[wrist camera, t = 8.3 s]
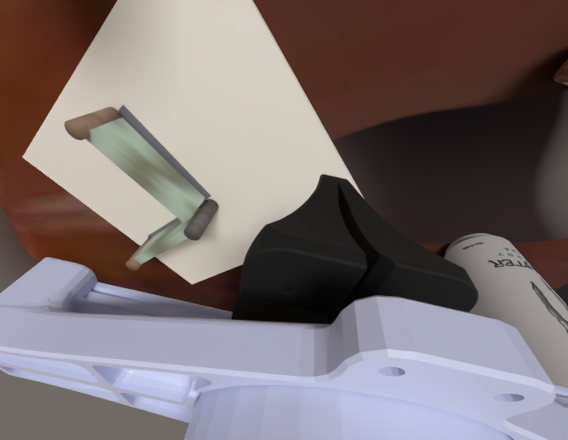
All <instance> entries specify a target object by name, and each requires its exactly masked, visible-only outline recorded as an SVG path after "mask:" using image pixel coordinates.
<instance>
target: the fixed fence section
mask: <svg viewBox="0 0 568 440" xmlns="http://www.w3.org/2000/svg"><path fill="white" fill-rule="evenodd" d="M218 208H219V205H218V203H217V202H216V201H214V200H212V199H207V200H205V202H204V203H203V204H202V206H201V207H200V208H198V209H197V210H196V211H195V213H194V214H193V216H192V217H191V218H190V219H189V220H187V221H186V222H184V223H183V222H182V221H181V220H179V221H177V222H175V223H174V224H172V225H171V226H169V227H167V228H166V229H164V230H163V231H161V232H159V233H158V234H156V235H154V236H153V237H148V239H147V240H146V241H145V242H144V243H143V244H142V245H141V247H140V248H139V249H138V250H137V251H136V252H135V253H134V255H133V256H132V257H131V258H130V259H129V260H128V261H127V263H126V266H127V267H128V268H129V269H131V270H138V268H139V267H140V266H141V265H142V263H144V262H146V261H148V260H150V259H151V258H153V257H155V256H157V255H159V254H161V253H162V252H164V251H166V250H168V249H170V248H172V247H173V246H175V245H177V244H179V243H181V242H183V241H184V240H186V239H188V238H189V239H190V240H194V241H196V240H199V239H200V238H201V236H202V235H203V233H204V231H205V230H206V228H207V226H208V225H209V223H210V222H211V220H212V218H213V217H214V215H215V213H216V212H217V210H218Z"/></svg>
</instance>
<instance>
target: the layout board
mask: <svg viewBox="0 0 568 440" xmlns="http://www.w3.org/2000/svg"><path fill="white" fill-rule="evenodd" d="M107 107H113V108H115V109H116V110H118V111H119V113H120V114H121V116H122V118H123V119H124V120H125V121H126V122H127V123H128V124H129V125H130V126H132V127H133V128H134V129H135V130H136V131H137V132H138V133H139V134H140V135H141V136H142V137H143V138H144V139H145V140H146V141H147V142H148V143H149V144H150V145H151V146H152V147H153V148H154V149H155V150H156V151H157V152H158V153H159V154H160V155H162V156H163V157H164V158H165V159H166V160H167V161H168V162H169V163H170V164H171V165H172V166H173V167H174V168H175V169H176V170H177V171H178V172H179V173H180V174H181V175H182V176H183V177H184V178H185V179H186V180H187V181H188V182H189V183H190V184H192V185H193V186H194V187H195V188H196V189H197V190H198V191H199V192H200V193H201V194H202V195H203V196H204V197H205V199H204V201H203V202H202V203H201V205H200V206H199V207H198V208H200V207H201V206H202V204H203V203H204V202H205V200H207V199H212V200H214V201H216V202H217V203H218V205H219V208H218V210H217V212H216V213H215V215H214V217H213V218H212V220H211V222H210V223H209V225H208V226H207V228H206V230H205V231H204V233H203V235H202V236H201V238H200V239H199V240H196V241H194V240H190V239H189V238H188V239H186V240H184V241H183V242H181V243H179V244H177V245H175V246H173V247H172V248H170V249H168V250H166V251H164V252H162V253H161V254H159V255H157V256H155V257H156V258H158V259H159V260H160V261H162V262H163V263H164V264H166V265H167V266H168V267H170V268H171V269H172V270H174V271H175V272H176V273H178V274H179V275H180V276H182V277H183V278H184V279H186V280H187V281H188V282H190V283H191V284H194V283H197V282H199V281H202V280H204V279H207V278H209V277H212V276H214V275H217V274H219V273H222V272H224V271H227V270H229V269H232V268H234V267H237V266H239V265H242V264H243V262H244V259H245V256H246V253H247V251H248V249H249V247H250V246H251V244H252V242H253V241H254V239H255V238H256V236H257V235H258V233H259V232H260V231H261V230H262V228H263V227H264V226H265V225H266V224H269V223H272V222H275V221H278V220H280V219H282V218H284V217H286V216H287V215H289V214H291V213H292V212H294V211H295V210H296V209H298V208H299V207H300V206H301V205H302V204H303V203H305V202H306V200H307V199H308V198H309V197H310V196H311V195H312V193H313V192H314V191H315V189H316V187H317V185H318V181H319V178H320V175H322V174H326V175H330V176H335V177H339V178H343V179H347V180H348V181H349V182H350V183H351V184H352V185H353V186H354V188H355V189H356V190H357V191H358V192H359V194H360V195H361V196H362V194H361V193H360V191H359V189H358V187H357V185H356V184H355V182H354V180H353V178H352V176H351V175H350V173H349V171H348V169H347V168H346V166H345V164H344V162H343V160H342V159H341V157H340V155H339V153H338V152H337V150H336V148H335V146H334V144H333V143H332V141H331V139H330V137H329V135H328V134H327V132H326V130H325V128H324V127H323V125H322V123H321V121H320V119H319V118H318V116H317V114H316V112H315V110H314V109H313V107H312V105H311V103H310V102H309V100H308V98H307V96H306V94H305V93H304V91H303V89H302V87H301V86H300V84H299V82H298V80H297V78H296V77H295V75H294V73H293V71H292V69H291V68H290V66H289V64H288V62H287V61H286V59H285V57H284V55H283V53H282V52H281V50H280V48H279V46H278V45H277V43H276V41H275V39H274V37H273V36H272V34H271V32H270V30H269V28H268V27H267V25H266V23H265V21H264V20H263V18H262V16H261V14H260V12H259V11H258V9H257V7H256V5H255V3H254V2H253V0H117V2H116V4H115V5H114V7H113V9H112V10H111V12H110V14H109V15H108V17H107V18H106V20H105V22H104V23H103V25H102V27H101V28H100V30H99V32H98V33H97V35H96V37H95V38H94V40H93V42H92V43H91V45H90V47H89V48H88V50H87V52H86V53H85V55H84V56H83V58H82V60H81V61H80V63H79V65H78V66H77V68H76V70H75V71H74V73H73V75H72V76H71V78H70V80H69V81H68V83H67V85H66V86H65V88H64V89H63V91H62V93H61V94H60V96H59V98H58V99H57V101H56V103H55V104H54V106H53V108H52V109H51V111H50V113H49V114H48V116H47V118H46V119H45V121H44V123H43V124H42V126H41V127H40V129H39V131H38V132H37V134H36V136H35V137H34V139H33V141H32V142H31V144H30V146H29V147H28V149H27V151H26V152H25V154H24V156H23V158H24V159H25V160H27V161H28V162H29V163H31V164H32V165H33V166H35V167H36V168H37V169H39V170H40V171H41V172H43V173H44V174H45V175H47V176H48V177H49V178H51V179H52V180H53V181H55V182H56V183H57V184H59V185H60V186H61V187H63V188H64V189H65V190H67V191H68V192H69V193H71V194H72V195H73V196H75V197H76V198H77V199H79V200H80V201H81V202H83V203H84V204H85V205H87V206H88V207H89V208H91V209H92V210H93V211H95V212H96V213H97V214H99V215H100V216H101V217H103V218H104V219H105V220H107V221H108V222H109V223H111V224H112V225H113V226H115V227H116V228H117V229H119V230H120V231H121V232H123V233H124V234H125V235H127V236H128V237H129V238H131V239H132V240H133V241H135V242H136V243H138V244H139V245H140V246H141V245H142V244H143V243H144V242H145V241H146V240H147V239H148V237H153V236H154V235H156V234H158V233H159V232H161V231H163V230H164V229H166V228H167V227H169V226H171V225H172V224H174V223H175V222H177V221H179V220H180V219H179V218H177V217H176V216H175V215H174V214H173V213H171V212H170V211H169V210H168V209H167V208H166V207H164V206H163V205H162V204H161V203H160V202H159V201H157V200H156V199H155V198H154V197H153V196H152V195H150V194H149V193H148V192H147V191H146V190H145V189H143V188H142V187H141V186H140V185H139V184H138V183H136V182H135V181H134V180H133V179H132V178H131V177H129V176H128V175H127V174H126V173H125V172H124V171H122V170H121V169H120V168H119V167H118V166H116V165H115V164H114V163H113V162H112V161H111V160H109V159H108V158H107V157H106V156H105V155H104V154H102V153H101V152H100V151H99V150H98V149H97V148H95V147H94V146H93V145H92V144H91V143H90V142H88V141H87V140H86V139H84V140H77V139H74V138H73V137H71V136H70V135H69V134H68V132H67V131H66V129H65V127H64V123H65V121H67V120H70V119H74V118H77V117H80V116H83V115H86V114H89V113H92V112H95V111H98V110H101V109H104V108H107ZM362 197H363V196H362Z"/></svg>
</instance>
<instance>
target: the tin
mask: <svg viewBox="0 0 568 440" xmlns="http://www.w3.org/2000/svg"><path fill="white" fill-rule="evenodd" d="M554 81H555V82H558V83H561V84H564V85H567V86H568V59H567V60H566V61H565V62H564V63H563V65H562V66H561V67H560V68H559V70H558V71H557V72H556V74H555V76H554Z"/></svg>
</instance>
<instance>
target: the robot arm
mask: <svg viewBox="0 0 568 440" xmlns="http://www.w3.org/2000/svg"><path fill="white" fill-rule="evenodd" d="M478 299H479V298H478V290H477V289H476V287H475V285H474V284H473V282H472V280H471V279H470V277H469V275H468V273H467V272H466V270H465V269H464V268H462V267H460V266H458V265H456V264H454V263H452V262H450V261H448V260H446V259H444V258H442V257H440V256H438V255H436V254H434V253H433V252H431V251H429V250H427V249H426V248H424V247H422V246H421V245H419V244H417V243H416V242H414V241H413V240H411V239H409V238H408V237H407V236H405V235H404V234H402V233H401V232H399V231H398V230H397V229H395V228H394V227H393V226H392V225H390V224H389V223H388V222H387V221H385V220H384V219H383V218H382V217H381V216H380V215H379V214H378V213H377V212H376V211H375V210H374V209H373V208H372V207H371V206H370V205H369V204H368V203H367V202H366V201H365V200H364V198H363V197H362V196H361V195H360V194H359V192H358V191H357V190H356V189H355V188H354V186H353V185H352V184H351V183H350V182H349V181H348V180H347V179H343V178H339V177H335V176H330V175H326V174H322V175H320V178H319V181H318V185H317V187H316V189H315V191H314V192H313V193H312V195H311V196H310V197H309V198H308V199H307V200H306V202H305V203H303V204H302V205H301V206H300V207H299V208H298V209H296V210H295V211H294V212H292V213H291V214H289V215H287V216H286V217H284V218H282V219H280V220H278V221H275V222H272V223H269V224H266V225H265V226H264V227H263V228H262V230H261V231H260V232H259V233H258V235H257V236H256V238H255V239H254V241H253V242H252V244H251V246H250V247H249V249H248V251H247V253H246V256H245V259H244V262H243V265H242V269H241V278H240V289H239V295H238V298H237V301H236V304H235V307H234V310H233V312H229V311H224V310H220V309H215V308H211V307H206V306H202V305H197V304H193V303H189V302H184V301H180V300H175V299H171V298H166V297H162V296H157V295H153V294H148V293H144V292H139V291H135V290H130V289H126V288H122V287H117V286H113V285H108V284H104V283H99V282H97V279H96V276H95V274H94V273H93V272H92V270H91V269H89V268H88V267H86V266H84V265H81V264H77V263H73V262H68V261H64V260H59V259H55V258H50V257H49V258H45V259H43V260H42V261H41V262H40V263H38V264H37V265H36V266H35V267H33V268H32V269H31V270H29V271H28V272H27V273H26V274H24V275H23V276H22V277H21V278H19V279H18V280H17V281H16V282H14V283H13V284H12V285H11V286H9V287H8V288H7V289H6V290H4V291H3V292H2V293H0V370H2V371H4V372H6V373H7V374H9V375H13V376H17V377H21V378H25V379H30V380H34V381H38V382H43V383H47V384H51V385H55V386H59V387H62V388H66V389H70V390H74V391H78V392H81V393H85V394H89V395H92V396H96V397H100V398H103V399H107V400H110V401H114V402H117V403H121V404H124V405H128V406H131V407H135V408H139V409H142V410H145V411H149V412H153V413H156V414H160V415H163V416H167V417H171V418H174V419H177V420H181V421H184V422H188V423H189V426H188V429H187V432H186V435H185V438H184V440H568V387H564V386H559V385H555V384H553V383H552V382H551V380H550V378H549V377H548V375H547V374H546V372H545V371H544V369H543V368H542V366H541V365H540V363H539V362H538V360H537V359H536V357H535V356H534V354H533V353H532V351H531V350H530V348H529V347H528V345H527V344H526V342H525V340H524V339H523V337H522V336H521V334H520V333H519V331H518V330H517V328H515V327H513V326H511V325H509V324H506V323H504V322H502V321H500V320H497V319H494V318H491V317H486V316H482V315H477V314H473V313H469V311H470V310H471V309H472V308H473V307H474V306H475V305H476V303H477V301H478Z"/></svg>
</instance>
